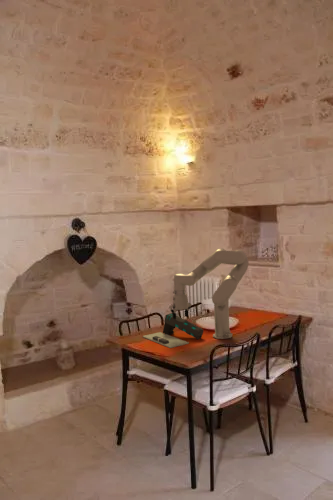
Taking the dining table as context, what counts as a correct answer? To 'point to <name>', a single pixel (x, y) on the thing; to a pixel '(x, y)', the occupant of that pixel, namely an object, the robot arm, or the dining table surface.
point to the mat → (172, 340)
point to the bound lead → (160, 340)
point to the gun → (181, 326)
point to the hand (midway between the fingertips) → (180, 317)
